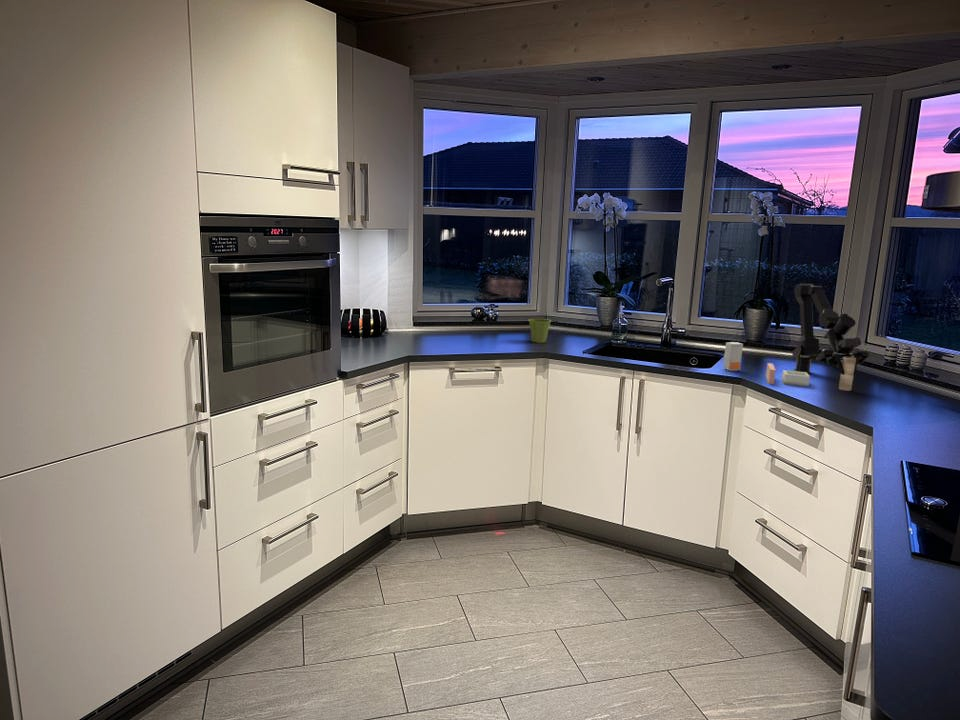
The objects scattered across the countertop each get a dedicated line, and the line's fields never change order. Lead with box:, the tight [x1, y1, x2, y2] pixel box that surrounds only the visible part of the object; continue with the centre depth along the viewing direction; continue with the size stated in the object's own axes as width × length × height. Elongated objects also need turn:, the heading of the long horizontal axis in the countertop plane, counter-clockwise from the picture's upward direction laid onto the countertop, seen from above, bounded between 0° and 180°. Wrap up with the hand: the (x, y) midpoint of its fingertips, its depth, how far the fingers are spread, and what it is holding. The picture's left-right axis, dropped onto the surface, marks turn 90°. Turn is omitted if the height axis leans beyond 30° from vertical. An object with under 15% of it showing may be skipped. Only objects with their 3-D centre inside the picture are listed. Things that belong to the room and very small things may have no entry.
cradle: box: [781, 369, 811, 387], centre depth 275 cm, size 9×9×4 cm
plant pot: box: [527, 318, 552, 344], centre depth 346 cm, size 12×12×11 cm
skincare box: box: [722, 341, 744, 371], centre depth 296 cm, size 6×4×12 cm
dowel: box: [838, 356, 856, 392], centre depth 267 cm, size 4×4×13 cm
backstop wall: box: [765, 362, 777, 385], centre depth 278 cm, size 14×2×6 cm, turn 161°
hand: (849, 374), depth 265 cm, fingers closed on dowel, 4 cm apart
